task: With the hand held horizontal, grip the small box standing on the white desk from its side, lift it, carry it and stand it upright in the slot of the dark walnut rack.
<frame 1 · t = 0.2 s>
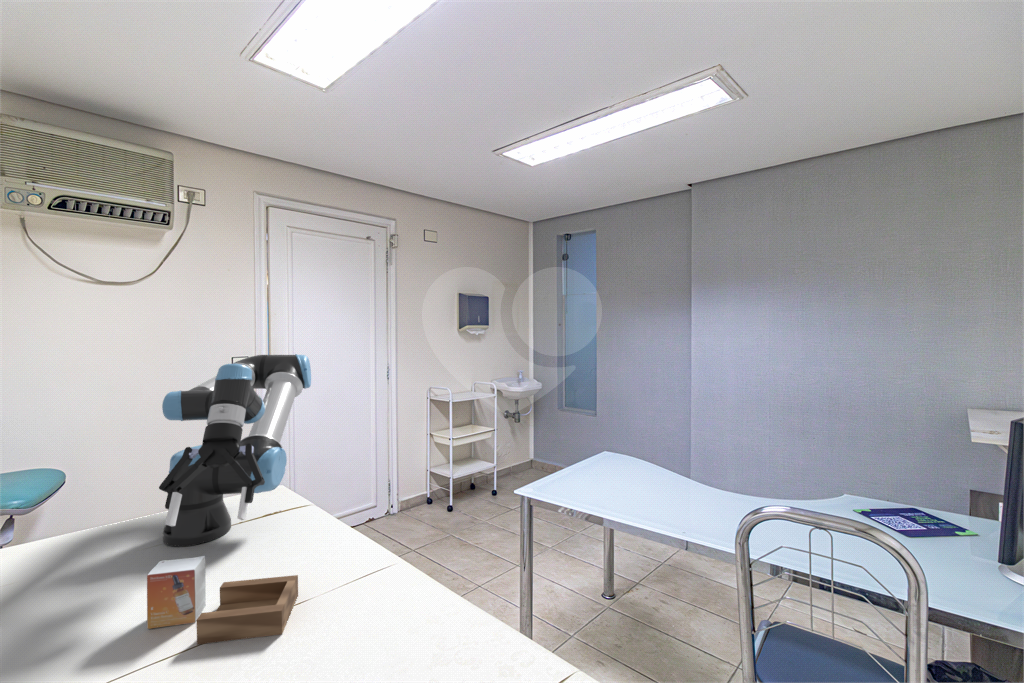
hand: (206, 522, 98), 14 cm above the table, tool tilted 35°, fingers open, 13 cm apart
rack: (251, 618, 90), on the table
small box: (178, 618, 90), on the table
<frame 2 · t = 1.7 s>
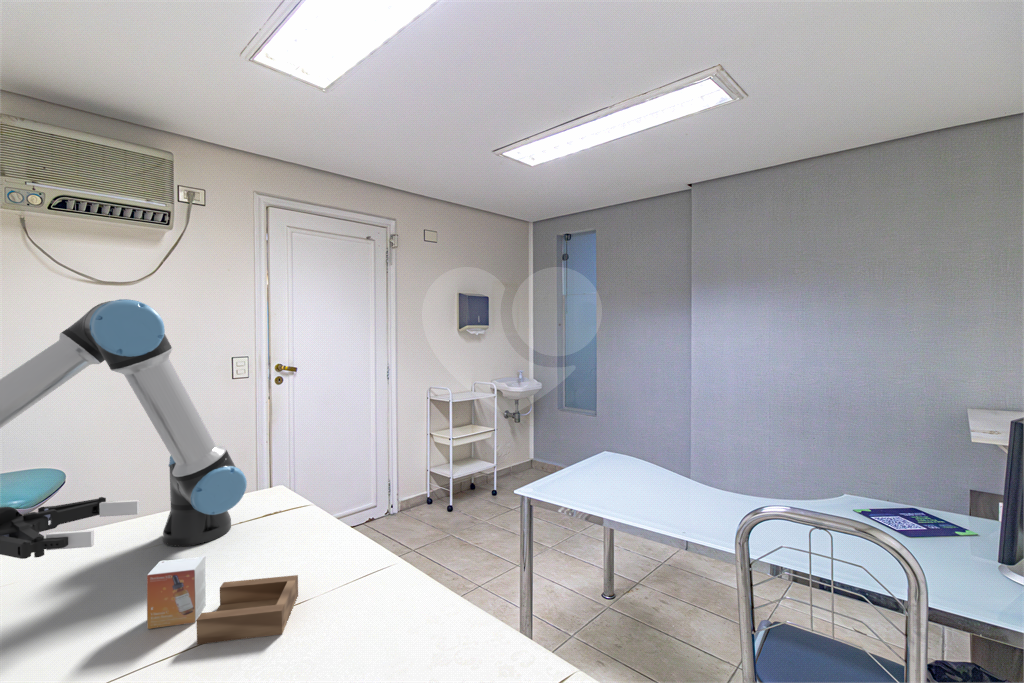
hand: (117, 521, 87), 20 cm above the table, tool horizontal, fingers open, 13 cm apart
nothing on the table moved.
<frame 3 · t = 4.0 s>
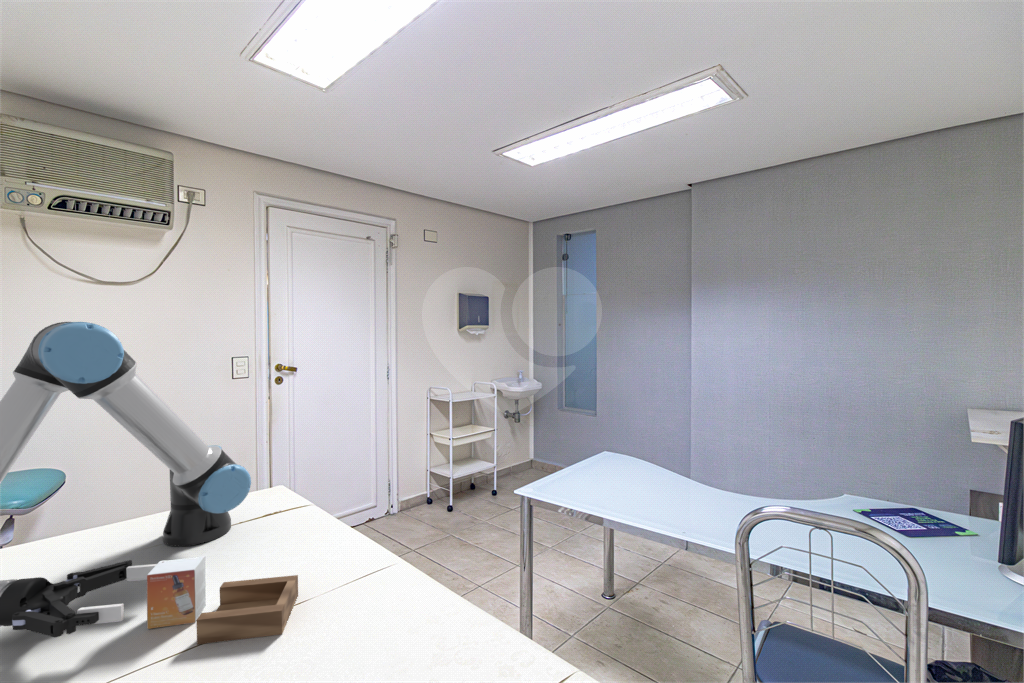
hand: (145, 589, 88), 6 cm above the table, tool horizontal, fingers open, 13 cm apart
nothing on the table moved.
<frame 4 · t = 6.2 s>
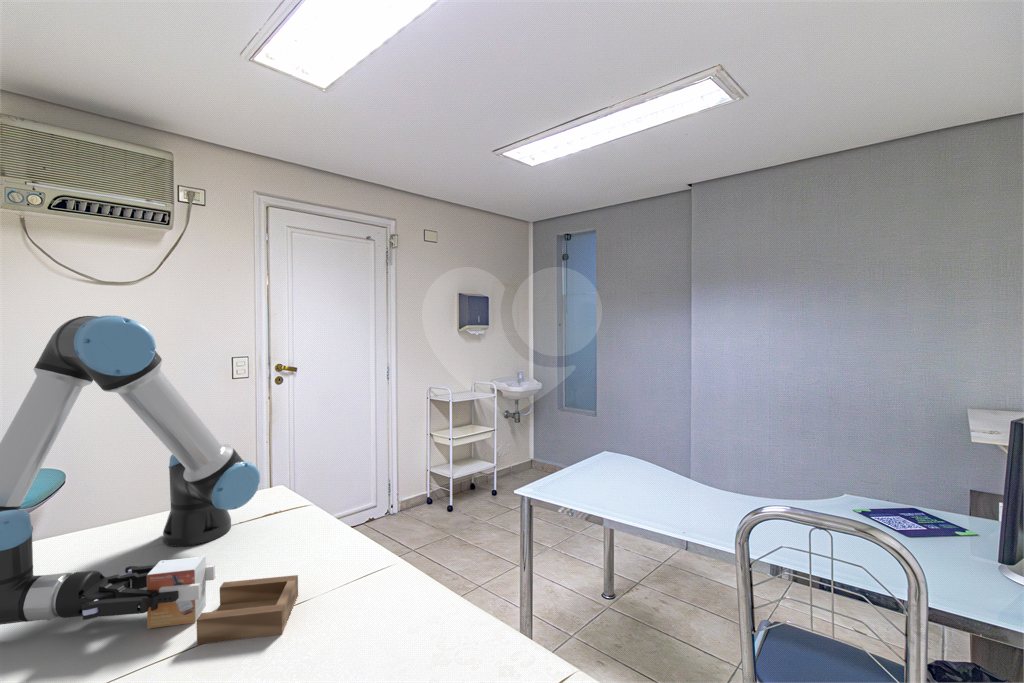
hand: (206, 581, 90), 7 cm above the table, tool horizontal, fingers closed on small box, 6 cm apart
small box: (178, 618, 90), on the table, touching gripper
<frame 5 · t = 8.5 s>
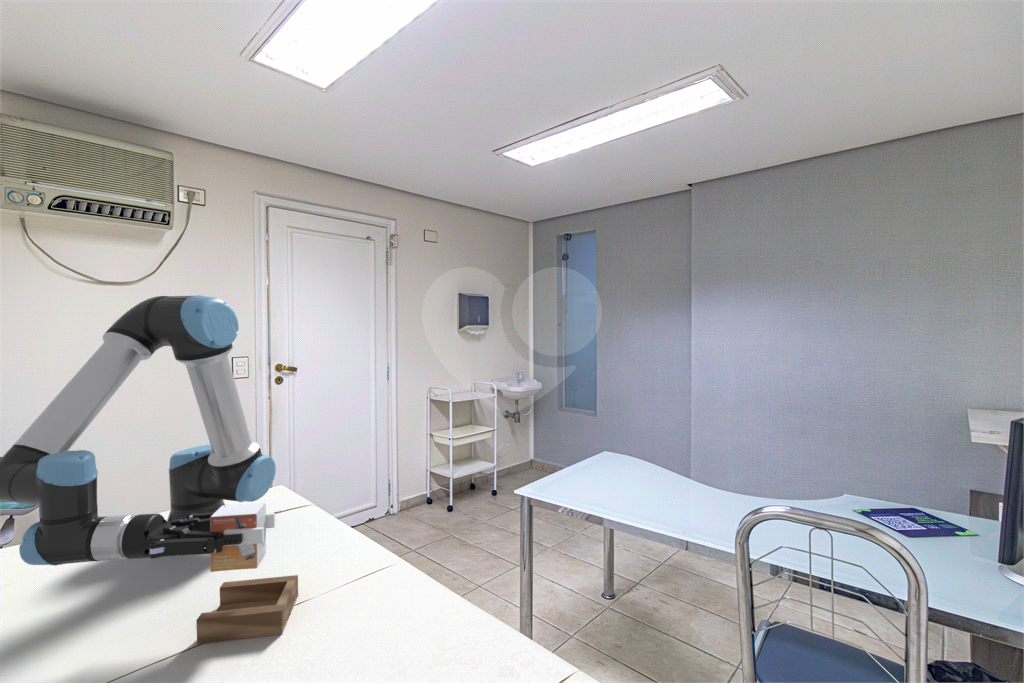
hand: (268, 527, 89), 18 cm above the table, tool horizontal, fingers closed on small box, 6 cm apart
small box: (239, 564, 88), point 11 cm above the table, touching gripper
when the fingers open (9 cm above the table, at t = 10.6 s): small box drops 1 cm, resting on rack.
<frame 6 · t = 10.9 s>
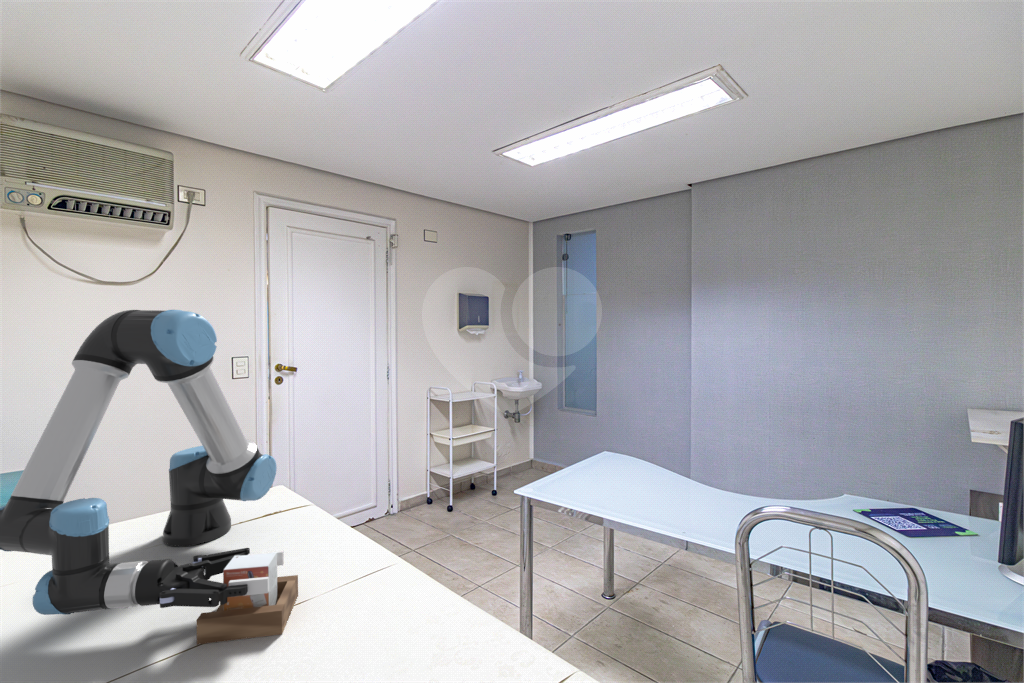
hand: (276, 570, 90), 9 cm above the table, tool horizontal, fingers open, 9 cm apart
small box: (251, 614, 90), point 1 cm above the table, touching rack
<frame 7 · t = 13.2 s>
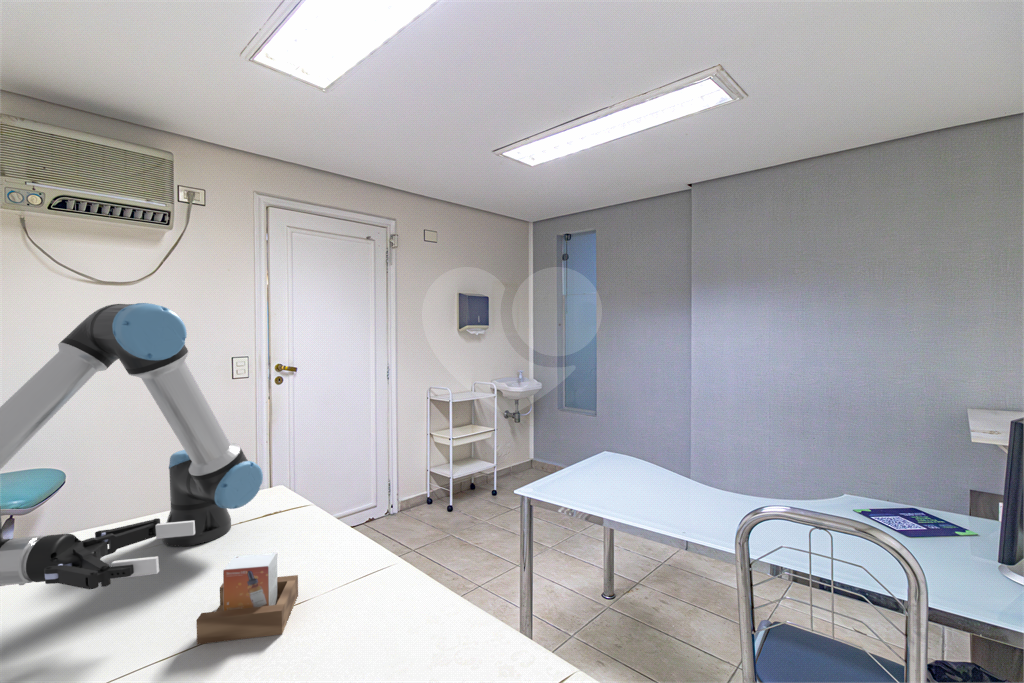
hand: (177, 544, 86), 16 cm above the table, tool horizontal, fingers open, 13 cm apart
nothing on the table moved.
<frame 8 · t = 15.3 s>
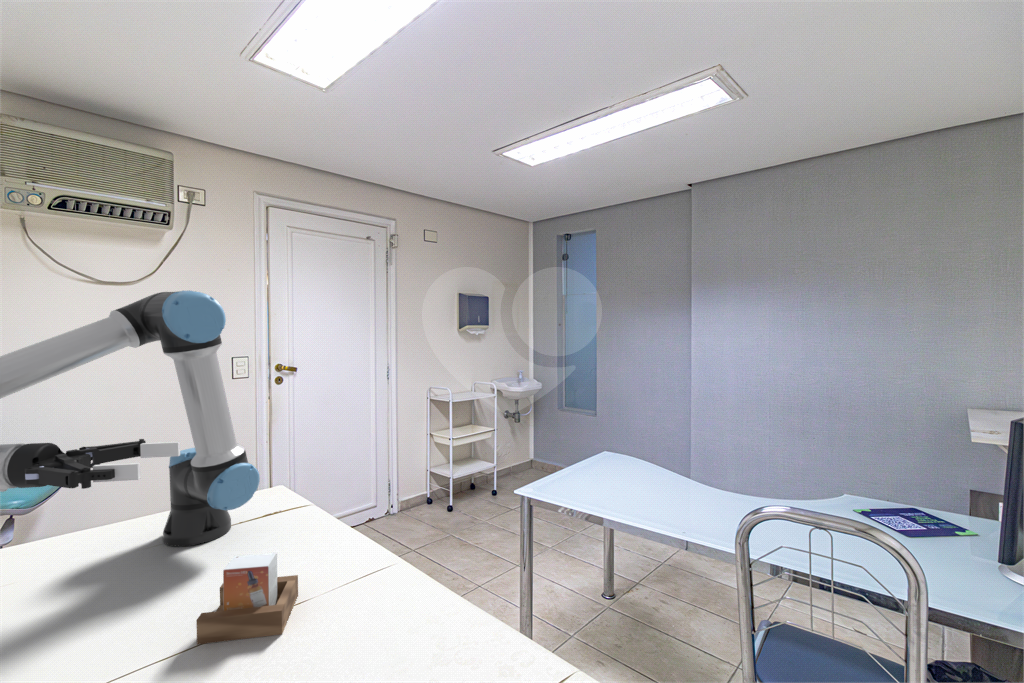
hand: (161, 459, 85), 32 cm above the table, tool horizontal, fingers open, 13 cm apart
nothing on the table moved.
at the end: small box inside the target area on the rack (0.0 cm from its centre), point 0.8 cm above the rack's base; small box tilted 0°; the gripper is holding nothing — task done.
